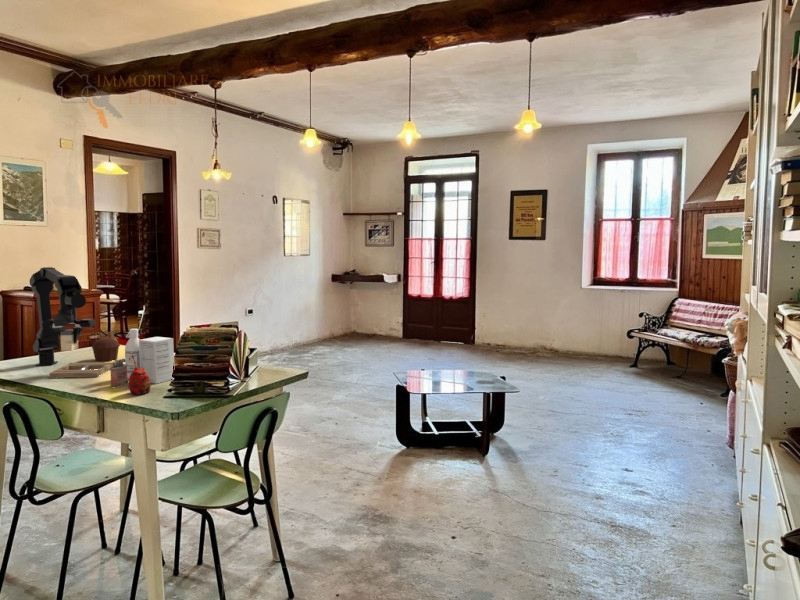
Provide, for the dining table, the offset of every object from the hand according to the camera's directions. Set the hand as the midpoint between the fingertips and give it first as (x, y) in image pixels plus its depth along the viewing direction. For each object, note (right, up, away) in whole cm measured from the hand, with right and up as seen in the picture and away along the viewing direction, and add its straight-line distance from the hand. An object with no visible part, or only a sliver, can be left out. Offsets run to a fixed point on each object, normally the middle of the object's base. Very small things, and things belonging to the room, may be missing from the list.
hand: (69, 343), depth 227 cm
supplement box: (+40, -14, -8) cm, 44 cm away
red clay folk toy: (+42, -16, -27) cm, 53 cm away
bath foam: (+30, -14, -5) cm, 33 cm away
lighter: (+30, -15, -17) cm, 37 cm away
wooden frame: (+5, -12, +2) cm, 13 cm away
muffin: (+1, -10, +27) cm, 29 cm away
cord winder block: (0, -3, 0) cm, 3 cm away
